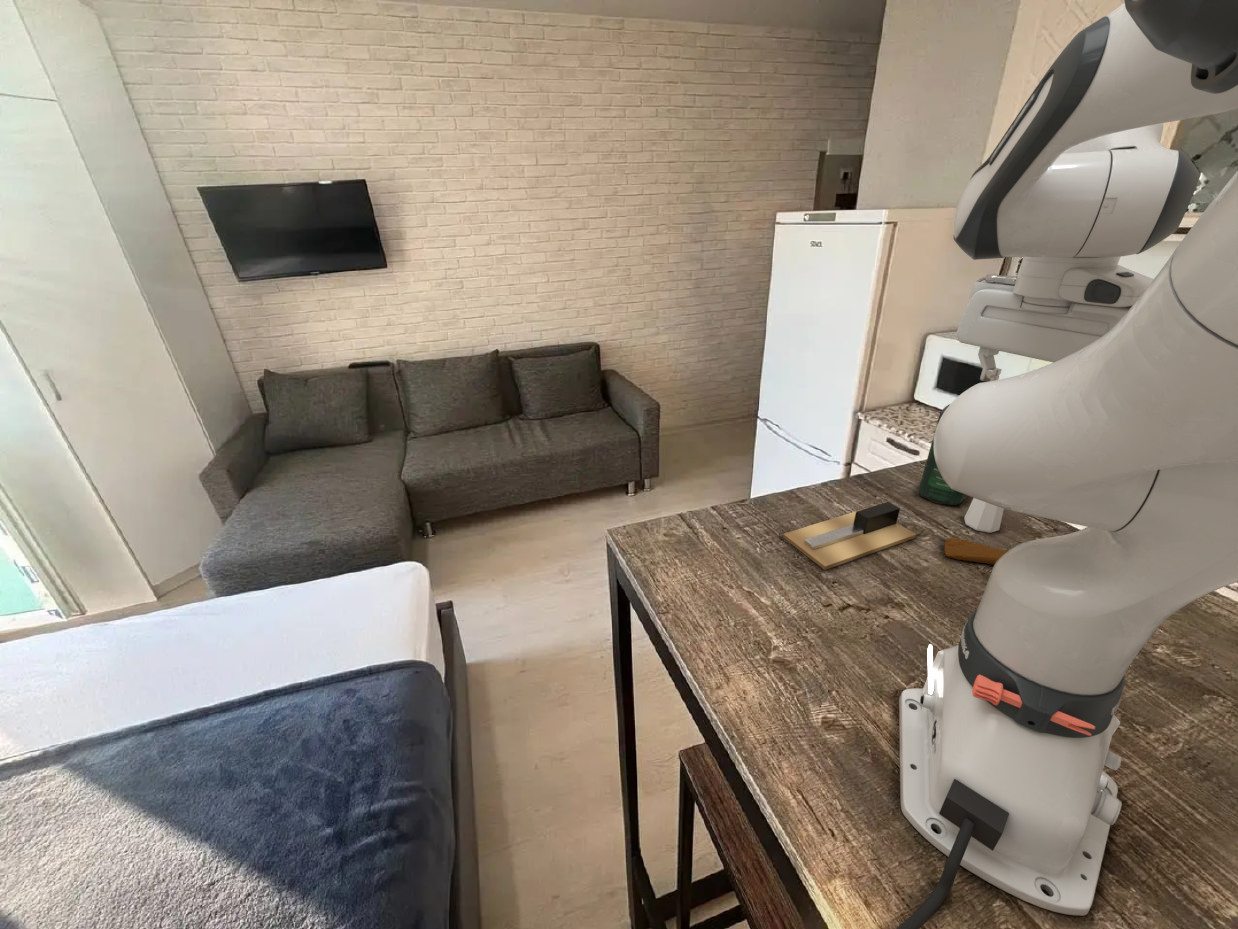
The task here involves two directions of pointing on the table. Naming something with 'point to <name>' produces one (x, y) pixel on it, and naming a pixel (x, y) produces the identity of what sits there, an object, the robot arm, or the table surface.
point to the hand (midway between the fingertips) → (1024, 390)
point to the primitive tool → (972, 551)
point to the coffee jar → (937, 481)
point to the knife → (858, 525)
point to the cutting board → (846, 541)
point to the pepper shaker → (983, 516)
